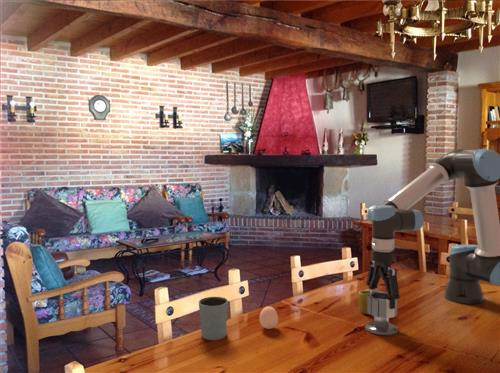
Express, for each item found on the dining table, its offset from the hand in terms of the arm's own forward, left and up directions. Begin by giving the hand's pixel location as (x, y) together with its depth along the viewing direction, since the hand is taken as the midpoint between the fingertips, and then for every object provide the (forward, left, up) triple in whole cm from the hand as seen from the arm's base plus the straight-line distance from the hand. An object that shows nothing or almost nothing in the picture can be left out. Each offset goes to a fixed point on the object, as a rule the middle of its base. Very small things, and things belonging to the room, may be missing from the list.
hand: (381, 311), depth 159 cm
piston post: (0, 0, -6) cm, 6 cm away
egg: (+38, -12, -7) cm, 40 cm away
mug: (-6, -18, -7) cm, 20 cm away
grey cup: (+58, -12, -7) cm, 60 cm away
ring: (0, 0, 0) cm, 0 cm away
